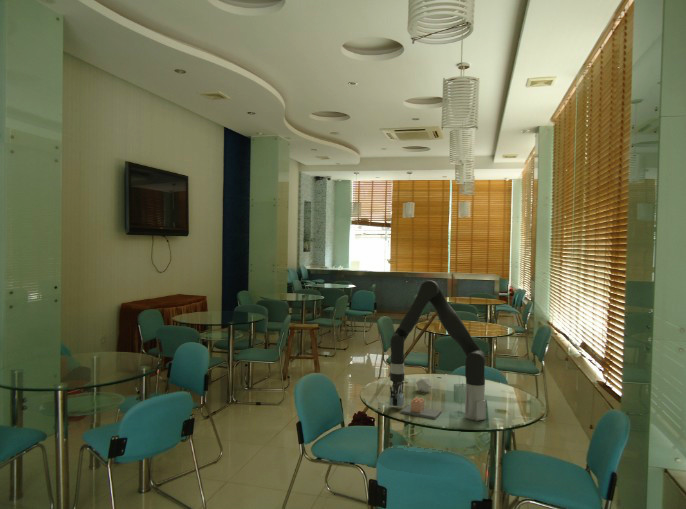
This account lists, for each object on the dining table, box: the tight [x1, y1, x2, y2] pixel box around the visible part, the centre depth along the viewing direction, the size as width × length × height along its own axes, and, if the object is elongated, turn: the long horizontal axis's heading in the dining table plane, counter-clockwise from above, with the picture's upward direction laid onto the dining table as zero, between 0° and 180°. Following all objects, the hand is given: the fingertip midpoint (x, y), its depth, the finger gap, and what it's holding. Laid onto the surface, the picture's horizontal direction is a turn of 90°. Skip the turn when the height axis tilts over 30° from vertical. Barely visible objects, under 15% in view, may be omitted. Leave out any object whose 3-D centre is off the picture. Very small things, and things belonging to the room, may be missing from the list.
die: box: [415, 376, 433, 393], centre depth 303 cm, size 8×9×10 cm
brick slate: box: [389, 393, 405, 408], centre depth 271 cm, size 6×5×6 cm
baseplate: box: [400, 404, 443, 420], centre depth 264 cm, size 18×11×1 cm, turn 63°
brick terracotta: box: [410, 396, 425, 412], centre depth 265 cm, size 6×5×6 cm
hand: (396, 403), depth 271 cm, fingers closed on brick slate, 5 cm apart
